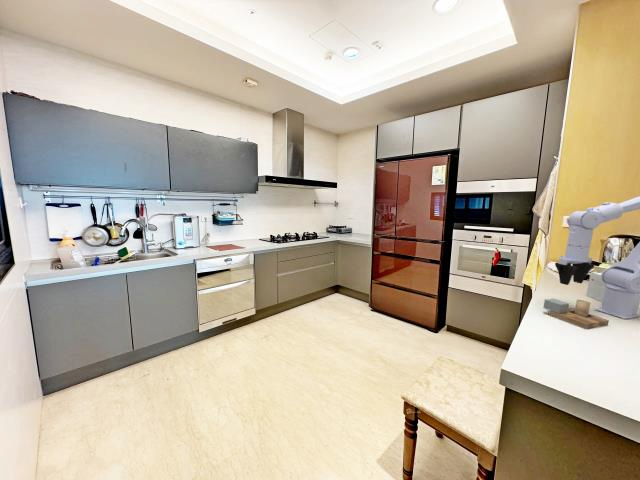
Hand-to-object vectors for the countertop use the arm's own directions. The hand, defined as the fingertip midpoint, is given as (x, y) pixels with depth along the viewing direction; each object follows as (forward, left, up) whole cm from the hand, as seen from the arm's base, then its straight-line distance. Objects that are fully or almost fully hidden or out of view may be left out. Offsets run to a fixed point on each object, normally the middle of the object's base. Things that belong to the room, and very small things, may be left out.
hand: (570, 283), depth 91 cm
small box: (-29, -3, -10) cm, 31 cm away
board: (+7, +7, -10) cm, 14 cm away
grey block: (+10, +2, -8) cm, 13 cm away
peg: (+4, +6, -10) cm, 12 cm away
